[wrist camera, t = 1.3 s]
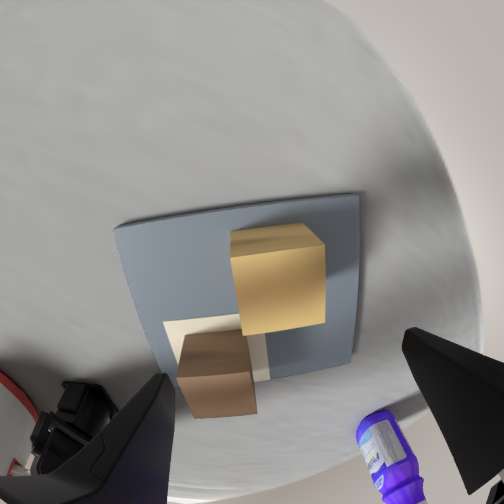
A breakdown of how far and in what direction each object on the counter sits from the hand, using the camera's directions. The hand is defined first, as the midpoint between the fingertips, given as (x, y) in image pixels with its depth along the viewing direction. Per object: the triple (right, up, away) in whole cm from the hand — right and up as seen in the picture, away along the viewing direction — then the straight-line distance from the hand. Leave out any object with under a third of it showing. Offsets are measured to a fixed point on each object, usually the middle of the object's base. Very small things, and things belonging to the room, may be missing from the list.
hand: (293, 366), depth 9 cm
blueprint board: (-2, 0, +13) cm, 13 cm away
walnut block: (-4, -5, +13) cm, 15 cm away
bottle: (+16, -21, +22) cm, 34 cm away
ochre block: (0, +3, +11) cm, 11 cm away
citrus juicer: (-41, -20, +17) cm, 48 cm away
